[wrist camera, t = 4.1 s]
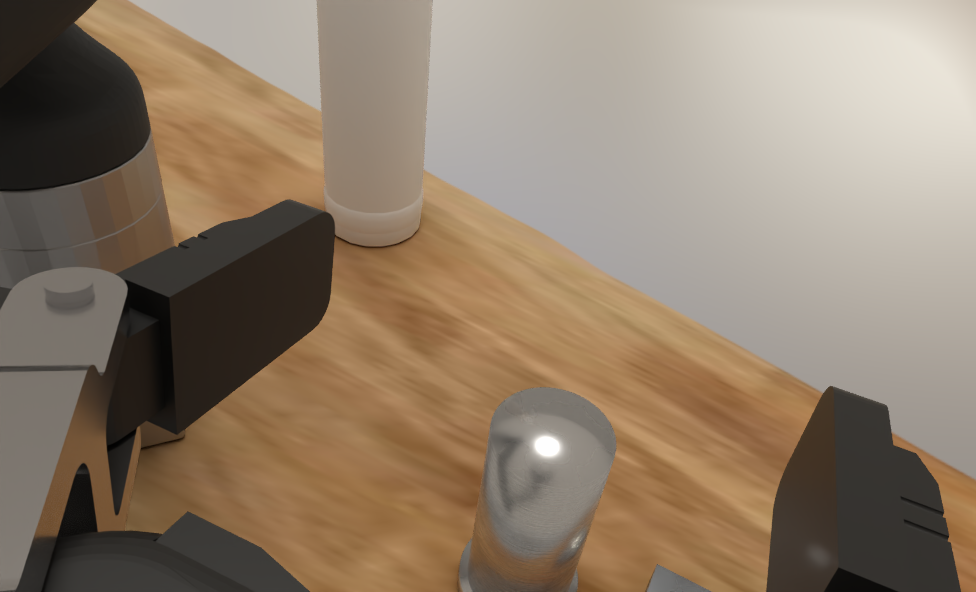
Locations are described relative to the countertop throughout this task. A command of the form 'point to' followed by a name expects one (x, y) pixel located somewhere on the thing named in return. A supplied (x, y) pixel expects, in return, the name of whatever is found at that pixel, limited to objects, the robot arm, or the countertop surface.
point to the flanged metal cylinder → (537, 493)
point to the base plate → (671, 582)
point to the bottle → (374, 115)
